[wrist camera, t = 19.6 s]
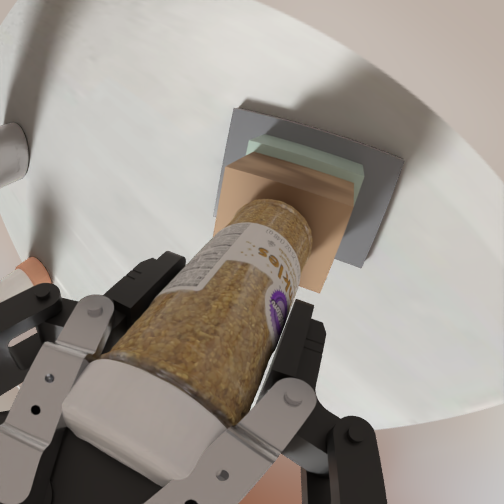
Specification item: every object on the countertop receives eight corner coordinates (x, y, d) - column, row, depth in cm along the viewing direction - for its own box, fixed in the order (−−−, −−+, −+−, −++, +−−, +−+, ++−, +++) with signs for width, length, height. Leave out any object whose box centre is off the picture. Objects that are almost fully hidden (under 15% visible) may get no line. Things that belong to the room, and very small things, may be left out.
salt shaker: (30, 279, 48) (-40, 336, 32) (26, 249, 44) (-53, 306, 28) (54, 299, 47) (-18, 363, 31) (50, 269, 44) (-33, 334, 27)
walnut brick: (238, 223, 23) (210, 254, 19) (253, 151, 20) (225, 166, 16) (328, 254, 22) (319, 293, 18) (354, 183, 19) (353, 207, 15)
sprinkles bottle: (326, 259, 16) (249, 530, 5) (254, 282, 18) (130, 495, 7) (290, 181, 15) (106, 428, 4) (215, 213, 17) (24, 403, 6)
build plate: (217, 212, 29) (193, 234, 25) (238, 107, 24) (213, 110, 20) (361, 262, 27) (360, 294, 23) (402, 158, 22) (413, 172, 18)
